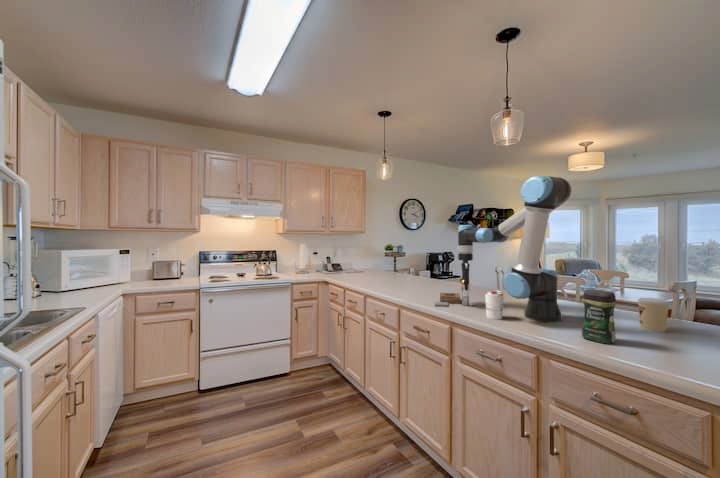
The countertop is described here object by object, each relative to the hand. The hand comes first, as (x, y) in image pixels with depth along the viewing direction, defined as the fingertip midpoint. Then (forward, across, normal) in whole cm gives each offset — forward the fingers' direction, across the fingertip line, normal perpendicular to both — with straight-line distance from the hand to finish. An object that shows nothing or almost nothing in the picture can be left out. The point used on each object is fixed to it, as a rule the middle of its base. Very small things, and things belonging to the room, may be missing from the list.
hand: (465, 294), depth 174 cm
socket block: (+6, -8, -8) cm, 13 cm away
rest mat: (+6, +2, -13) cm, 14 cm away
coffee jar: (+6, +48, +43) cm, 65 cm away
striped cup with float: (+6, +23, +11) cm, 26 cm away
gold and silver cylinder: (+6, 0, 0) cm, 6 cm away
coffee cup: (+6, +28, +71) cm, 77 cm away
